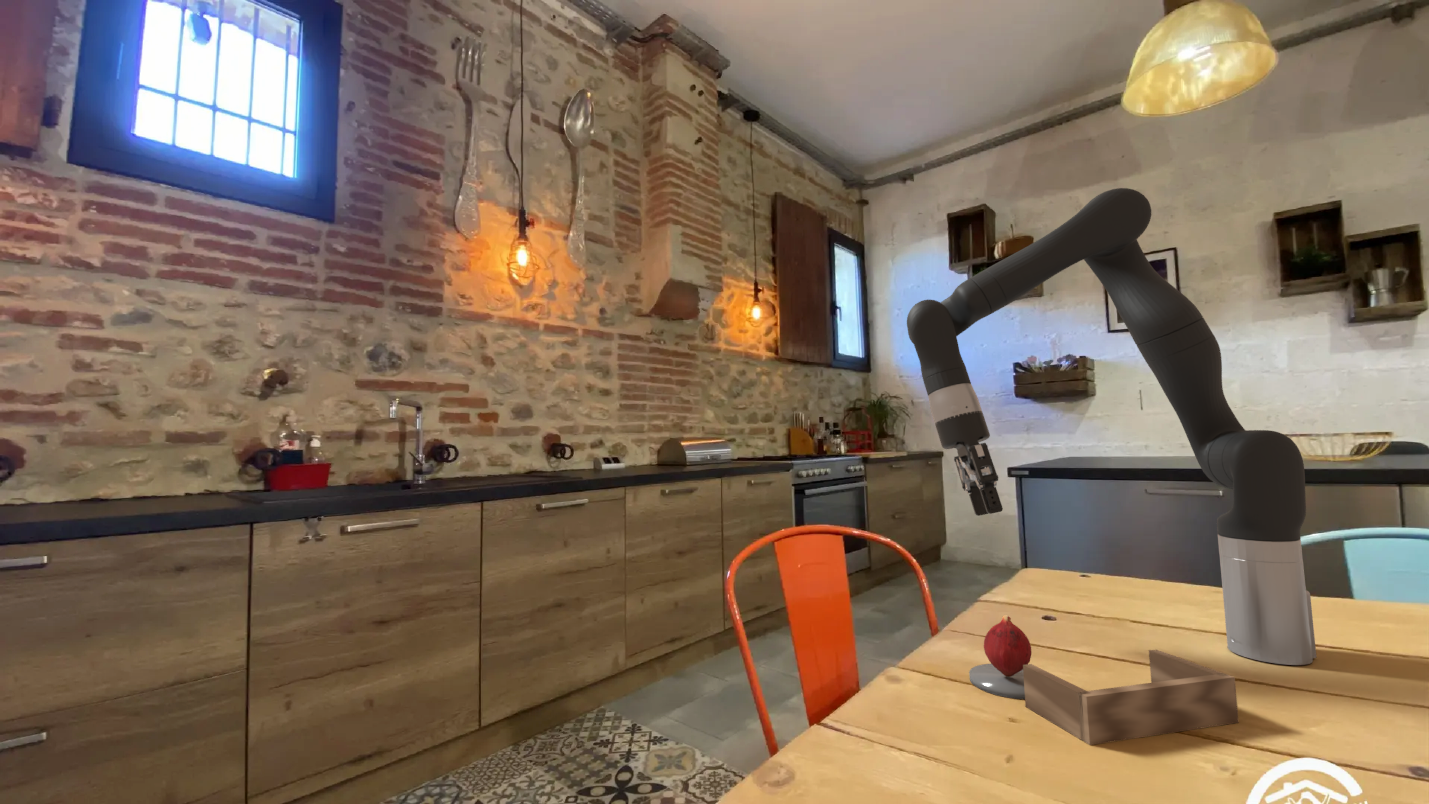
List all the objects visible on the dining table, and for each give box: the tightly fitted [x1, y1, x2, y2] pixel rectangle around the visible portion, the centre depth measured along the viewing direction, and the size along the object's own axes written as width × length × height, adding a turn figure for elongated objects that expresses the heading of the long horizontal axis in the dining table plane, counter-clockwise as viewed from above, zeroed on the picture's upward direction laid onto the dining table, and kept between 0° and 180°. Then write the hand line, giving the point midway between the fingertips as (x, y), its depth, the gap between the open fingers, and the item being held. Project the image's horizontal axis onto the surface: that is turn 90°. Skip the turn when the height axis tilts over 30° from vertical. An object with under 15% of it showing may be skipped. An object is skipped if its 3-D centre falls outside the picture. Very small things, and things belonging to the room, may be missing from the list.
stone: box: [968, 663, 1025, 700], centre depth 80 cm, size 10×10×1 cm
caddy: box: [1023, 649, 1240, 746], centre depth 70 cm, size 20×10×5 cm, turn 102°
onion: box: [983, 614, 1032, 677], centre depth 80 cm, size 6×6×8 cm
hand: (988, 513), depth 93 cm, fingers open, 8 cm apart
